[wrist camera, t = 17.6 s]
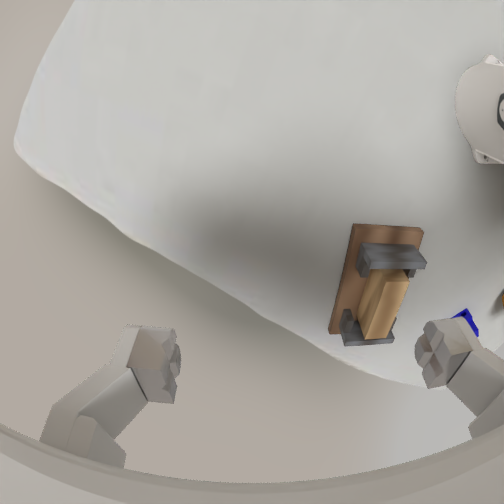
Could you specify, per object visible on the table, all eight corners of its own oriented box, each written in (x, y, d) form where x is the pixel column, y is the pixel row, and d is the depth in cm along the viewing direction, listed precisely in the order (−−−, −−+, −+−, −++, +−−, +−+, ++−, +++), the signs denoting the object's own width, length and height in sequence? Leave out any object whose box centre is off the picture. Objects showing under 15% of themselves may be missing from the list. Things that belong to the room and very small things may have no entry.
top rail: (395, 258, 44) (409, 281, 39) (376, 313, 50) (385, 337, 45) (373, 258, 44) (386, 281, 39) (356, 314, 50) (364, 339, 45)
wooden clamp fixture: (419, 227, 42) (438, 249, 37) (384, 326, 54) (394, 350, 49) (353, 223, 42) (366, 246, 37) (328, 328, 54) (334, 355, 49)
